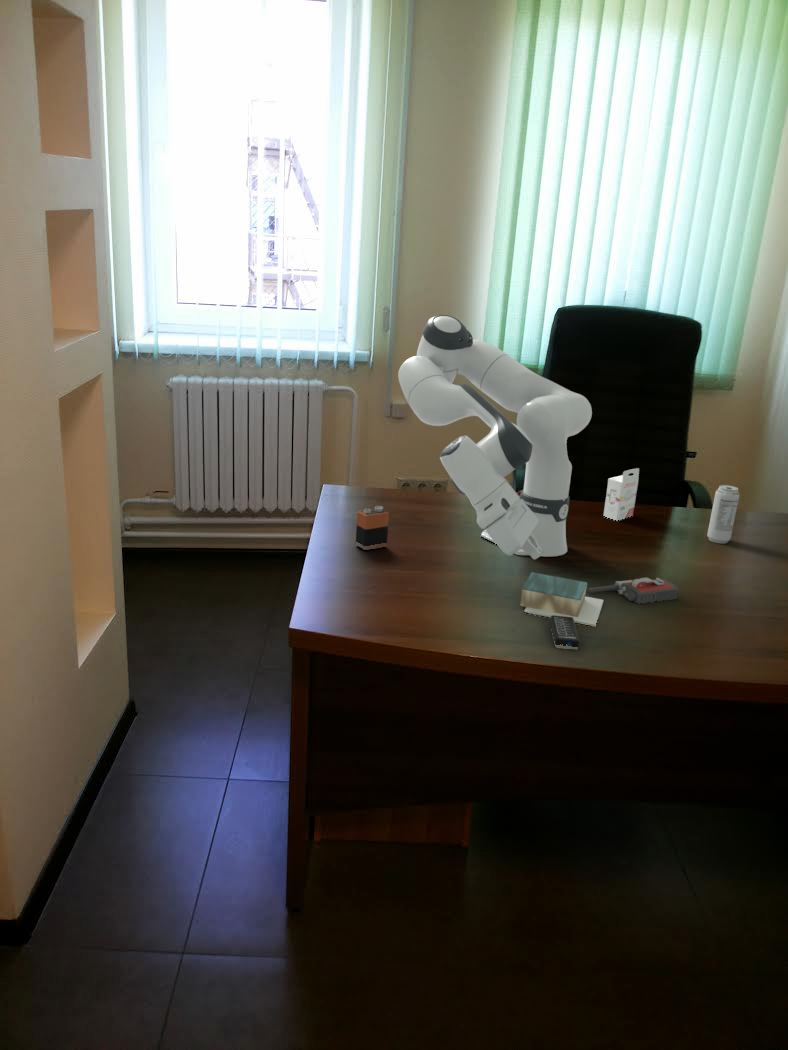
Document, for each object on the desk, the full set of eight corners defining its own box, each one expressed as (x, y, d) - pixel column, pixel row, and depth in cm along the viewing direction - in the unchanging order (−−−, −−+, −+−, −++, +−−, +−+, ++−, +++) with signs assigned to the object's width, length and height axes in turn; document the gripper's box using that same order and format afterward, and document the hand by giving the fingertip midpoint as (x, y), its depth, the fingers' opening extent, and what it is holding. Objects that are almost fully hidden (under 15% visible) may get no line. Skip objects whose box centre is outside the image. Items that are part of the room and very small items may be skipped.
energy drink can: (726, 537, 228) (737, 485, 223) (732, 545, 222) (743, 491, 218) (703, 535, 229) (714, 483, 224) (709, 543, 223) (720, 489, 218)
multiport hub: (571, 627, 167) (573, 616, 166) (578, 652, 156) (580, 641, 156) (549, 625, 167) (550, 614, 166) (554, 649, 157) (556, 638, 156)
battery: (387, 547, 203) (390, 508, 200) (364, 552, 199) (366, 512, 196) (377, 542, 206) (379, 503, 203) (354, 546, 202) (356, 507, 199)
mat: (524, 613, 171) (524, 610, 171) (536, 589, 183) (537, 587, 183) (595, 627, 166) (595, 624, 166) (603, 602, 179) (603, 599, 179)
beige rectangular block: (522, 587, 172) (580, 599, 168) (531, 572, 181) (587, 582, 177) (520, 605, 173) (577, 617, 169) (529, 589, 182) (584, 599, 178)
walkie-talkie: (656, 585, 192) (585, 594, 184) (659, 567, 191) (587, 575, 183) (682, 600, 184) (609, 610, 176) (686, 581, 183) (612, 590, 175)
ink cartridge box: (618, 512, 245) (626, 464, 240) (633, 516, 242) (641, 467, 237) (601, 517, 239) (609, 467, 235) (616, 521, 236) (624, 471, 231)
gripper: (497, 500, 184) (536, 549, 185) (474, 525, 166) (517, 580, 166) (519, 484, 182) (558, 533, 182) (498, 508, 163) (542, 563, 163)
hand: (538, 556), depth 174 cm, fingers closed
